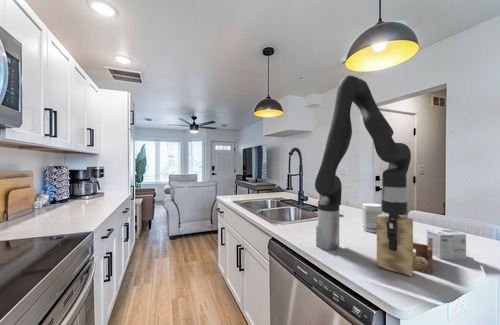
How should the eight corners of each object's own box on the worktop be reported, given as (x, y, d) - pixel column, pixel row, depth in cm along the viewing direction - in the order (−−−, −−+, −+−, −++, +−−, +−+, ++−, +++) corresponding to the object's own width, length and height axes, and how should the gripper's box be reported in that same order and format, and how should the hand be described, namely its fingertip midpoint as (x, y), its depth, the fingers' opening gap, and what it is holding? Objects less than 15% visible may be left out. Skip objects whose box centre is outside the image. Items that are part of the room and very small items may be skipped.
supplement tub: (386, 232, 116) (386, 205, 116) (372, 234, 113) (371, 206, 113) (372, 227, 125) (372, 202, 125) (358, 228, 123) (358, 203, 123)
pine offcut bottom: (384, 259, 81) (384, 252, 81) (385, 256, 84) (385, 249, 84) (424, 270, 74) (424, 261, 74) (424, 266, 76) (424, 258, 76)
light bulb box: (450, 254, 89) (450, 228, 89) (467, 261, 82) (467, 234, 82) (425, 254, 88) (425, 229, 88) (440, 262, 82) (440, 234, 82)
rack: (377, 262, 82) (377, 239, 82) (384, 250, 93) (384, 229, 93) (432, 277, 71) (432, 250, 71) (432, 261, 82) (432, 238, 82)
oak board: (376, 266, 76) (376, 216, 76) (379, 261, 79) (379, 213, 79) (411, 276, 69) (411, 221, 69) (412, 270, 72) (412, 218, 72)
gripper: (385, 195, 82) (385, 239, 82) (377, 200, 71) (377, 251, 71) (409, 197, 77) (409, 244, 77) (405, 203, 66) (405, 258, 66)
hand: (394, 247), depth 74 cm, fingers closed on oak board, 4 cm apart
